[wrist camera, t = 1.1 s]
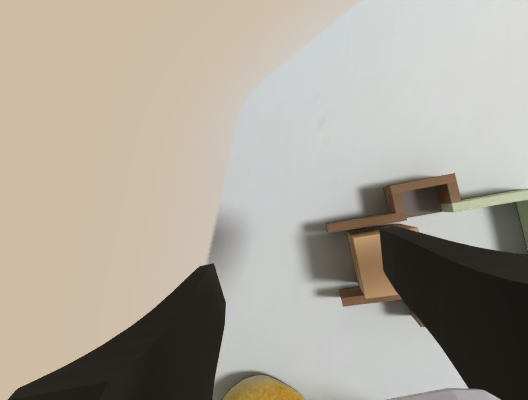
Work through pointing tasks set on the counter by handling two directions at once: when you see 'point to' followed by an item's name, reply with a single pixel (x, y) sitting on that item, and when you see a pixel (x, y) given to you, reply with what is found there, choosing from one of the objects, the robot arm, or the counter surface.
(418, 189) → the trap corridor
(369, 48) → the counter surface
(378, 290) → the oak block
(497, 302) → the robot arm
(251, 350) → the counter surface
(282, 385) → the bread roll
